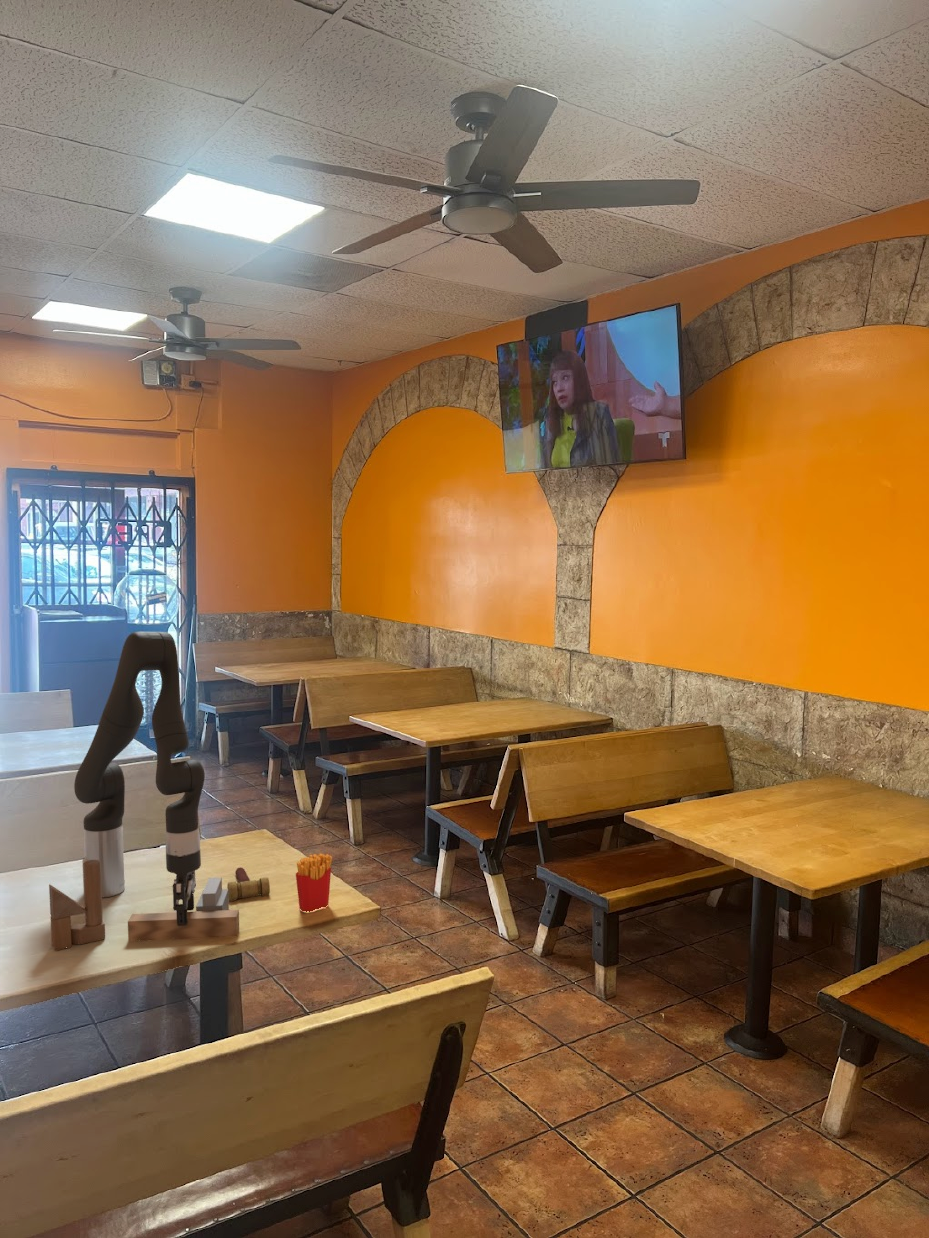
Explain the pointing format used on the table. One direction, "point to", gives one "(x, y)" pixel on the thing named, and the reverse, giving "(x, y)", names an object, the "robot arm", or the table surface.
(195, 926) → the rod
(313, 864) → the french fries
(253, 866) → the table surface
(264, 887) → the gavel
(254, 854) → the table surface
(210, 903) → the steps
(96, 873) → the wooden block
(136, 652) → the robot arm
